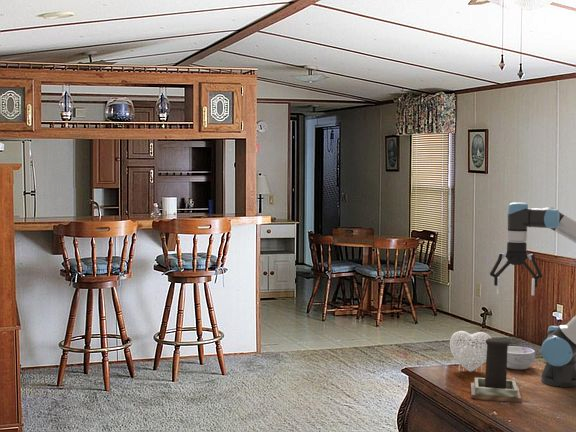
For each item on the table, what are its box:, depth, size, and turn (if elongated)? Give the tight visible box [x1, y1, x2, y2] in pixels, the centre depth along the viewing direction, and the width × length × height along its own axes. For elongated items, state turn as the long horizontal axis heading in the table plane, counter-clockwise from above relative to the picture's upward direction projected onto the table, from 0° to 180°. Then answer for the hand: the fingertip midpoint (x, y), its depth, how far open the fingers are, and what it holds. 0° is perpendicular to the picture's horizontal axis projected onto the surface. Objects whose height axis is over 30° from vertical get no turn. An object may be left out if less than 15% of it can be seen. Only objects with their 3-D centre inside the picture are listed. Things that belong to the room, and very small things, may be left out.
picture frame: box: [470, 377, 522, 403], centre depth 329 cm, size 18×18×4 cm
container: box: [484, 337, 510, 389], centre depth 328 cm, size 9×9×20 cm
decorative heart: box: [449, 330, 492, 373], centre depth 364 cm, size 18×11×17 cm, turn 81°
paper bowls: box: [507, 345, 536, 370], centre depth 374 cm, size 15×15×8 cm
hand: (515, 294), depth 342 cm, fingers open, 13 cm apart
